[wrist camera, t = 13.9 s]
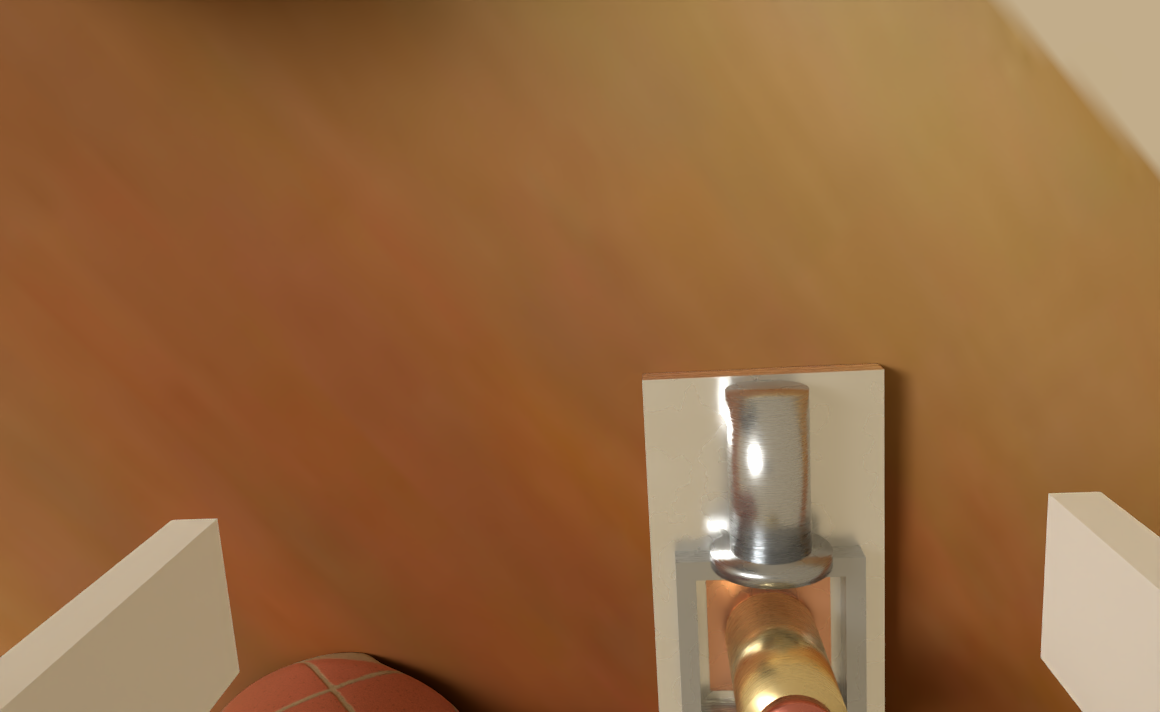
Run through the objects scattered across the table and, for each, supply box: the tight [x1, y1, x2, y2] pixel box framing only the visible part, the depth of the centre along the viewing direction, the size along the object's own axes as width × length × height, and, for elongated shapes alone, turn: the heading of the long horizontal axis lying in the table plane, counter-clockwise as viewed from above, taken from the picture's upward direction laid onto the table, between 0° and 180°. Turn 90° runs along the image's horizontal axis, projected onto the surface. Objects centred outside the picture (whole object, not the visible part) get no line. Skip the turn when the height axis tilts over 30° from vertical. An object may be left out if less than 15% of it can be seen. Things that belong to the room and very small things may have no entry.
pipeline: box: [642, 363, 885, 712], centre depth 50 cm, size 28×12×6 cm, turn 4°
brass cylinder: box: [725, 592, 847, 712], centre depth 46 cm, size 5×5×10 cm
